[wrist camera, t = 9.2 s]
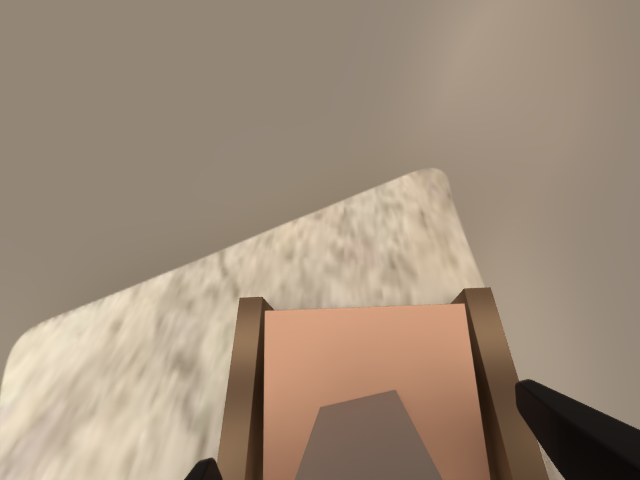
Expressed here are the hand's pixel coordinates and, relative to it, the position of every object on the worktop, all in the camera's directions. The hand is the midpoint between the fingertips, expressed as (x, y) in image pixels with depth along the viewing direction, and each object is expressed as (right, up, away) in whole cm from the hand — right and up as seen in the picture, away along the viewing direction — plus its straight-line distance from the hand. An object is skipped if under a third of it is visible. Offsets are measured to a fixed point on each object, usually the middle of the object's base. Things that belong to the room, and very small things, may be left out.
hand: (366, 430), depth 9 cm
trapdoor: (+2, -4, +12) cm, 13 cm away
